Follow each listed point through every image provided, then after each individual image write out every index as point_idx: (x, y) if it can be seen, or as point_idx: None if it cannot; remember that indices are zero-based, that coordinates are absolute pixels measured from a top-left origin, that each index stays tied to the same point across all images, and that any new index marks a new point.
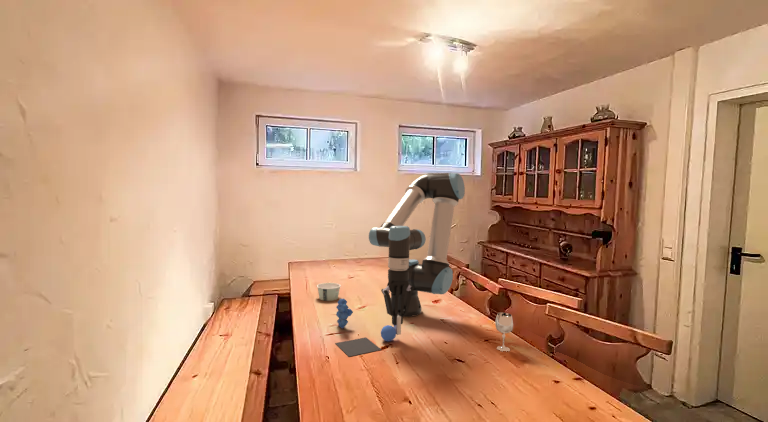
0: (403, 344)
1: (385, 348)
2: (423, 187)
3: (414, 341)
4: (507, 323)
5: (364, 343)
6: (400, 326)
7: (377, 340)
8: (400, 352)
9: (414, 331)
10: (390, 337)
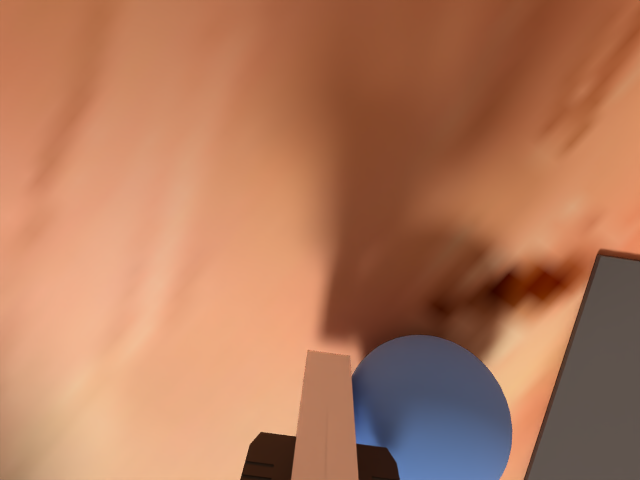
0: (350, 238)
1: (543, 262)
2: None
3: (217, 232)
4: None
5: (619, 430)
6: (308, 403)
7: None
8: (500, 111)
9: (74, 401)
10: (454, 343)
